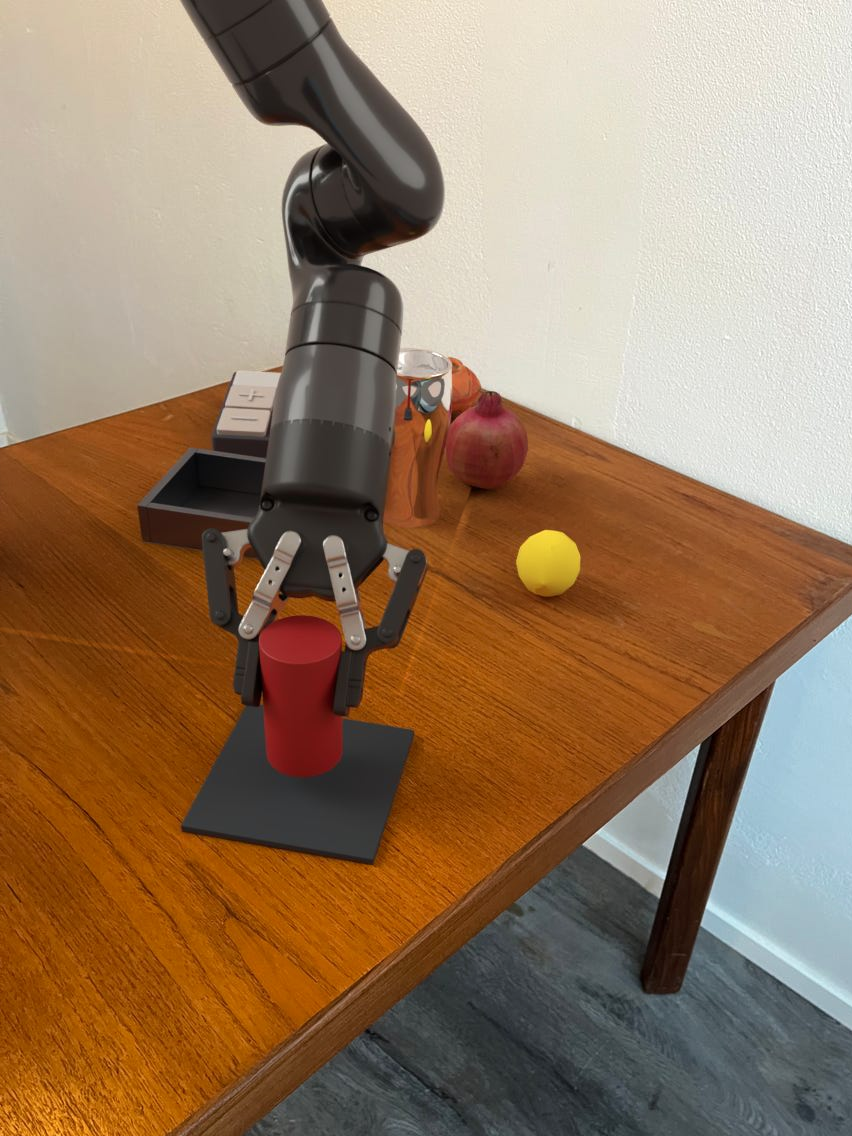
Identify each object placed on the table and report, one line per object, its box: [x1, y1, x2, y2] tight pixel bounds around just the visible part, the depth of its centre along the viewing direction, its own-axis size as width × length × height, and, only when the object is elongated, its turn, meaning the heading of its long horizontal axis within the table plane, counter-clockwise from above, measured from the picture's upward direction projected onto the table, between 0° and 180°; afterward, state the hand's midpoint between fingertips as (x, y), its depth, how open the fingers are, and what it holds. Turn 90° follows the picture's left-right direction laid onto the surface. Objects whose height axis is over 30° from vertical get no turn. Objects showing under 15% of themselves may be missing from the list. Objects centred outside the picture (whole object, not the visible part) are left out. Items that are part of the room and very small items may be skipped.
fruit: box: [445, 390, 529, 490], centre depth 98 cm, size 8×8×10 cm
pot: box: [447, 356, 482, 414], centre depth 113 cm, size 8×8×7 cm
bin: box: [136, 447, 266, 560], centre depth 90 cm, size 12×12×4 cm
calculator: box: [210, 370, 281, 458], centre depth 105 cm, size 11×4×15 cm
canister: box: [259, 614, 343, 777], centre depth 62 cm, size 5×5×9 cm
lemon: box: [515, 529, 581, 597], centre depth 85 cm, size 7×5×5 cm
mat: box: [180, 704, 415, 865], centre depth 66 cm, size 12×12×1 cm
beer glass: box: [383, 347, 452, 529], centre depth 90 cm, size 7×7×15 cm
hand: (296, 709), depth 60 cm, fingers closed on canister, 5 cm apart
